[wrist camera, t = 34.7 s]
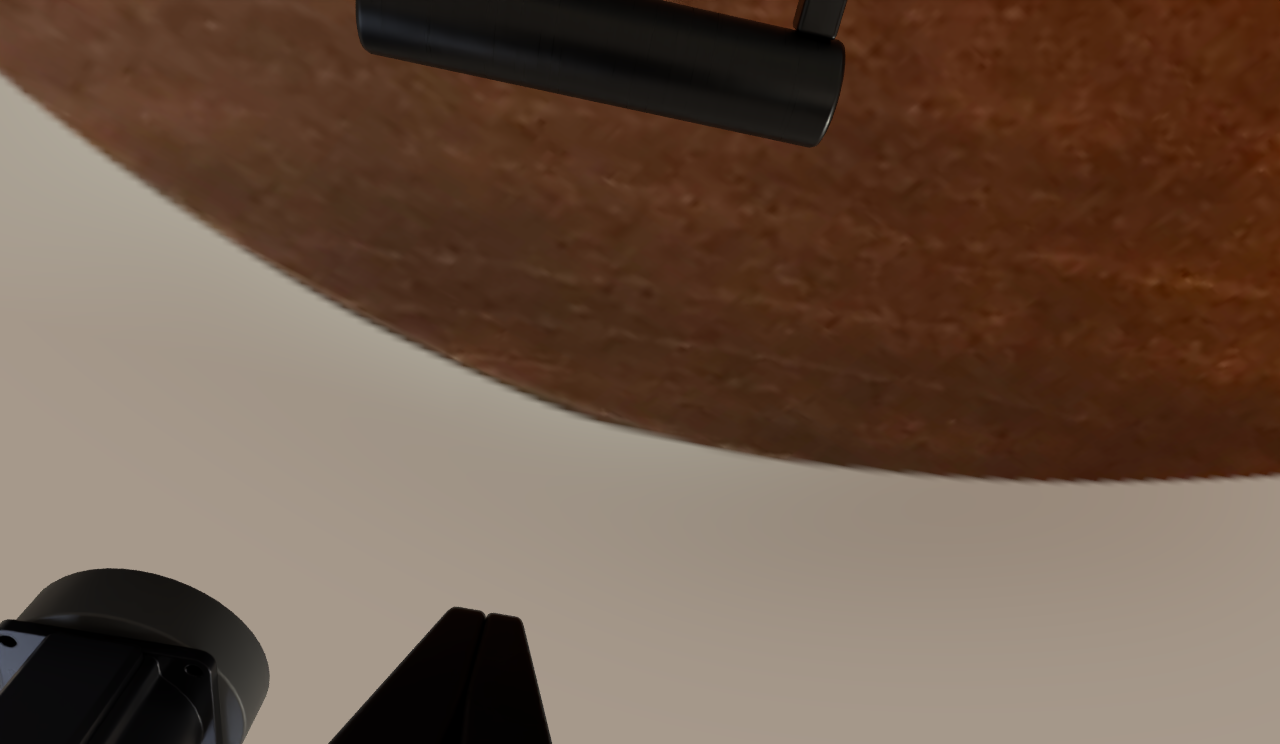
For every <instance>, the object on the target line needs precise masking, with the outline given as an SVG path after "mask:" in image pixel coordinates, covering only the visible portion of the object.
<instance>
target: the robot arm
mask: <svg viewBox="0 0 1280 744" xmlns="http://www.w3.org/2000/svg"><path fill="white" fill-rule="evenodd" d="M0 676H1V679H2V683H3V688H2V690H1V691H0V744H223V740H222V727H221V714H220V701H219V688H218V675H217V663H216V660H215V658H214V657H213V656H212V655H211V654H209V653H208V652H206V651H203V650H199V649H193V648H187V647H181V646H175V645H169V644H162V643H156V642H150V641H144V640H137V639H131V638H125V637H119V636H113V635H106V634H100V633H94V632H88V631H81V630H75V629H69V628H63V627H56V626H50V625H44V624H38V623H32V622H25V621H19V620H4V621H2V622H1V624H0ZM328 744H552V742H551V737H550V733H549V729H548V725H547V721H546V716H545V712H544V708H543V704H542V700H541V696H540V692H539V687H538V684H537V679H536V675H535V671H534V667H533V663H532V658H531V655H530V650H529V646H528V642H527V638H526V634H525V630H524V626H523V623H522V621H521V619H520V618H518V617H515V616H508V615H502V614H497V613H490V614H488V616H487V617H486V616H485V614H484V613H483V612H482V611H479V610H473V609H467V608H462V607H453V608H451V609H450V610H448V611H447V612H446V613H445V614H444V615H443V617H442V618H441V619H440V620H439V621H438V622H437V623H436V624H435V625H434V627H433V628H432V629H431V630H430V631H429V632H428V633H427V634H426V636H425V637H424V638H423V639H422V640H421V641H420V642H419V643H418V644H417V645H416V647H415V648H414V649H413V650H412V651H411V652H410V653H409V654H408V656H407V657H406V658H405V659H404V660H403V661H402V662H401V663H400V664H399V666H398V667H397V668H396V669H395V670H394V671H393V672H392V673H391V674H390V676H389V677H388V678H387V679H386V680H385V681H384V682H383V683H382V684H381V686H380V687H379V688H378V689H377V690H376V691H375V692H374V693H373V694H372V696H371V697H370V698H369V699H368V700H367V701H366V702H365V703H364V704H363V706H362V707H361V708H360V709H359V710H358V711H357V712H356V713H355V715H354V716H353V717H352V718H351V719H350V720H349V721H348V722H347V723H346V725H345V726H344V727H343V728H342V729H341V730H340V731H339V732H338V733H337V735H336V736H335V737H334V738H333V739H332V741H330V742H329V743H328Z"/></svg>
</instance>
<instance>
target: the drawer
mask: <svg viewBox="0 0 1280 744" xmlns="http://www.w3.org/2000/svg"><path fill="white" fill-rule="evenodd" d="M846 3H847V0H799V2H798V6H797V9H796V13H795V17H794V20H793V27H794V28H795V29H796V30H797V31H796V30H792V29H788V28H783V27H779V26H774V25H770V24H765V23H761V22H756V21H752V20H747V19H743V18H739V17H734V16H730V15H725V14H721V13H716V12H712V11H707V10H703V9H698V8H694V7H690V6H685V5H681V4H676V3H672V2H667V1H663V0H356V22H357V29H358V35H359V39H360V42H361V44H362V46H363V48H364V49H365V50H366V51H368V52H369V53H371V54H375V55H380V56H384V57H389V58H394V59H398V60H403V61H408V62H412V63H417V64H422V65H426V66H431V67H436V68H440V69H445V70H450V71H454V72H459V73H464V74H468V75H473V76H478V77H482V78H487V79H492V80H496V81H501V82H506V83H510V84H515V85H520V86H524V87H529V88H534V89H538V90H543V91H548V92H552V93H557V94H562V95H566V96H571V97H576V98H580V99H585V100H590V101H594V102H599V103H604V104H608V105H613V106H618V107H622V108H627V109H632V110H636V111H641V112H646V113H650V114H655V115H660V116H664V117H669V118H674V119H678V120H683V121H688V122H692V123H697V124H702V125H706V126H711V127H716V128H720V129H725V130H730V131H734V132H739V133H744V134H748V135H753V136H758V137H762V138H767V139H772V140H776V141H781V142H786V143H790V144H795V145H800V146H804V147H814V146H817V145H818V144H819V143H820V141H821V140H822V138H823V137H824V135H825V133H826V131H827V129H828V127H829V125H830V123H831V120H832V118H833V115H834V112H835V109H836V106H837V103H838V99H839V95H840V92H841V87H842V83H843V77H844V70H845V47H844V45H843V43H842V42H840V41H839V40H837V39H835V37H836V36H837V33H838V29H839V26H840V23H841V19H842V16H843V13H844V9H845V6H846Z"/></svg>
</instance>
